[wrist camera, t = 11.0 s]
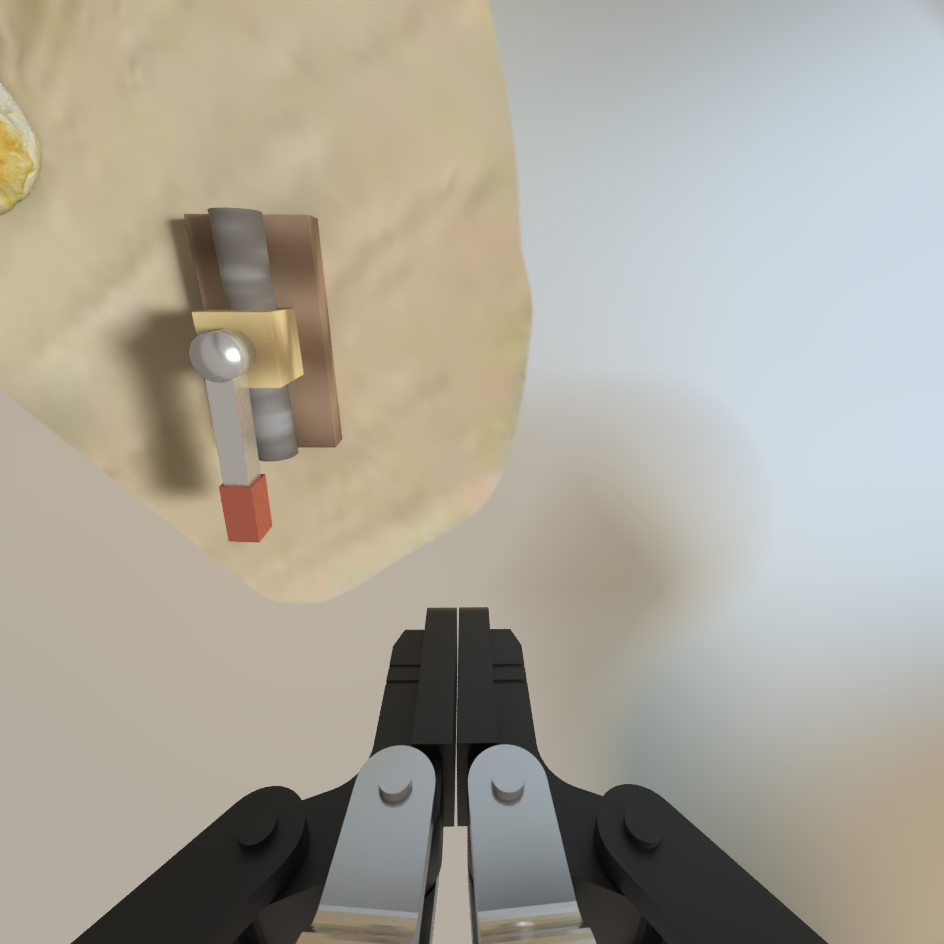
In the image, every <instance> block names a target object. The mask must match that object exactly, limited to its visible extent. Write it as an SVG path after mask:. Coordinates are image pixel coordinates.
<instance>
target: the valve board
mask: <svg viewBox="0 0 944 944" xmlns="http://www.w3.org/2000/svg"><path fill="white" fill-rule="evenodd" d="M208 213H209V214H184V217H185V222H186V227H187V232H188V236H189V241H190V246H191V251H192V255H193V260H194V265H195V270H196V274H197V279H198V284H199V289H200V293H201V298H202V303H203V308H204V311H196V312H192V316H193V321H194V326H195V330H196V335H197V336H198V335H200V334H203V333H207V332H212V331H217V330H222V329H234V330H237V331H240V332H242V333H243V334H245V335H246V336H247V337H248V338H249V339H250V341H251V342H252V344H253V345H254V348H255V351H256V363H255V365H254V367H253V368H252V370H251V371H250V372H248V373H247V379H248V386H249V394H250V401H251V408H252V415H253V422H254V429H255V436H256V444H257V451H258V458H259V460H260V461H280V460H285V459H288V458H291V457H293V456H295V455H297V454H298V447H336V446H337V445H338V444H339V442H340V441H341V440H342V435H341V426H340V417H339V408H338V399H337V390H336V381H335V372H334V363H333V354H332V345H331V336H330V328H329V319H328V310H327V301H326V292H325V283H324V274H323V265H322V256H321V247H320V238H319V229H318V220H317V218H314V217H312V216H309V215H262V212H260V211H256V210H250V209H241V208H210V209H208Z"/></svg>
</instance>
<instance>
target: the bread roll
mask: <svg viewBox="0 0 944 944" xmlns="http://www.w3.org/2000/svg"><path fill="white" fill-rule="evenodd" d="M40 170H41V152H40V148H39V143H38V139H37V136H36V134H35V132H34V131H33V129H32V127H31V126H30V124H29V123H28V121H27V119H26V118H25V116H24V114H23V112H22V110H21V108H20V107H19V105H18V104H17V103H16V102H15V100H14V99H13V98H12V96H11V95H10V94H9V93H8V92H7V90H6V89H5V88H4V86H3V85H2V84H1V83H0V214H2V213H4V212H8V211H9V210H11V209H13V208H14V207H15V205H16V204H17V202H18V201H20V200H21V199H23V198H25V197H26V196H27V195H28V194H30V193H31V191H32V190H33V188H34V187H35V184H36V182H37V180H38V178H39V175H40Z"/></svg>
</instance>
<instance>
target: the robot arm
mask: <svg viewBox="0 0 944 944" xmlns="http://www.w3.org/2000/svg"><path fill="white" fill-rule="evenodd" d="M457 699H458V700H457ZM457 703H458V704H457ZM456 708H457V709H456ZM456 710H457V711H456ZM456 712H457V813H458V814H457V816H458V826H468V890H469V905H470V920H471V935H472V944H828V943H827V942H826V941H825V940H823V939H822V938H821V937H820V936H819V935H818V934H817V933H816V932H814V931H813V930H812V929H811V928H810V927H809V926H808V925H806V924H805V923H804V922H803V921H802V920H801V919H800V918H798V917H797V916H796V915H795V914H794V913H793V912H792V911H790V910H789V909H788V908H787V907H786V906H785V905H784V904H783V903H781V902H780V901H779V900H778V899H777V898H776V897H775V896H774V895H772V894H771V893H770V892H769V891H768V890H767V889H766V888H765V887H763V886H762V885H761V884H760V883H759V882H758V881H757V880H755V879H754V878H753V877H752V876H751V875H750V874H749V873H748V872H746V871H745V870H744V869H743V868H742V867H741V866H740V865H738V864H737V863H736V862H735V861H734V860H733V859H731V857H729V856H728V855H727V854H726V853H724V851H722V850H721V849H720V848H719V847H718V846H717V845H716V844H715V843H714V842H712V841H711V840H710V839H709V838H708V837H707V836H705V835H704V834H703V833H702V832H701V831H700V830H699V829H698V828H696V827H695V826H694V825H693V824H692V823H691V822H690V821H689V820H687V819H686V818H685V817H684V816H683V815H682V814H680V813H679V812H678V811H677V810H676V809H675V808H674V807H672V805H670V804H669V803H668V802H667V801H666V800H665V799H663V798H662V797H661V796H660V795H658V794H657V793H655V792H653V791H652V790H649V789H647V788H645V787H641V786H638V785H632V784H624V785H619V786H615V787H614V788H612V789H610V790H609V791H608V792H606V793H605V794H604V796H600V795H597V794H595V793H592V792H588V791H586V790H583V789H580V788H577V787H574V786H572V785H569V784H567V783H565V782H564V781H562V780H561V779H559V778H558V777H557V776H555V775H554V774H553V773H552V772H551V771H550V770H549V769H548V767H547V766H546V765H545V763H544V762H543V760H542V758H541V757H540V754H539V752H538V749H537V744H536V738H535V732H534V725H533V718H532V712H531V706H530V699H529V692H528V686H527V682H526V673H525V668H524V660H523V653H522V647H521V644H520V643H519V641H518V640H517V638H516V637H515V636H514V634H513V633H512V631H511V630H510V629H490V624H489V610H488V608H487V607H485V608H484V607H482V608H481V607H479V608H478V607H477V608H475V607H473V608H470V607H469V608H459V648H458V698H457V608H427V614H426V623H425V630H405V631H404V632H403V634H402V635H401V636H400V638H399V639H398V640H397V642H396V643H395V645H394V646H393V650H392V656H391V660H390V668H389V671H388V676H387V684H386V686H385V691H384V696H383V701H382V706H381V711H380V716H379V721H378V726H377V731H376V736H375V741H374V746H373V750H372V753H371V755H370V757H369V759H368V761H367V762H366V763H365V764H364V765H363V767H362V768H361V770H360V772H359V773H358V774H357V775H356V776H355V777H353V778H352V779H351V780H350V781H348V782H347V783H345V784H343V785H342V786H340V787H338V788H335V789H333V790H331V791H328V792H325V793H322V794H319V795H316V796H313V797H310V798H308V799H305V800H301V799H300V797H299V796H298V795H297V794H296V793H295V792H294V791H293V790H291V789H289V788H285V787H282V786H271V787H265V788H262V789H259V790H256V791H254V792H252V793H250V794H248V795H247V796H245V797H243V798H242V799H241V800H239V801H238V802H237V803H235V804H234V805H233V806H232V807H231V808H230V809H229V810H227V811H226V812H225V813H224V814H223V815H221V816H220V817H219V818H218V819H217V820H215V822H213V823H212V824H211V825H210V826H208V827H207V828H206V829H205V830H204V831H203V832H201V833H200V834H199V835H198V836H197V837H195V838H194V839H193V840H192V841H191V842H190V843H188V844H187V845H186V846H185V847H184V848H183V849H181V850H180V851H179V852H178V853H177V854H176V855H174V856H173V857H172V858H171V859H170V860H168V861H167V862H166V863H165V864H164V865H163V866H161V867H160V868H159V869H158V870H157V871H156V872H155V873H153V874H152V875H151V876H150V877H148V878H147V879H146V880H145V881H144V882H143V883H141V884H140V885H139V886H138V887H137V888H136V889H134V890H133V891H132V892H131V893H130V894H129V895H127V896H126V897H125V898H124V899H123V900H122V901H120V902H119V903H118V904H117V905H116V906H115V907H113V908H112V909H111V910H110V911H109V912H107V913H106V914H105V915H104V916H103V917H101V918H100V919H99V920H98V921H97V922H96V923H95V924H93V925H92V926H91V927H90V928H89V929H87V930H86V931H85V932H84V933H83V934H82V935H80V936H79V937H78V938H77V939H76V940H74V941H73V942H72V943H71V944H432V938H433V930H434V920H435V911H436V901H437V892H438V883H439V872H440V868H441V862H442V846H443V827H445V826H448V827H449V826H454V809H455V760H456V759H455V758H456Z"/></svg>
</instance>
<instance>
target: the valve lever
mask: <svg viewBox="0 0 944 944" xmlns="http://www.w3.org/2000/svg"><path fill="white" fill-rule="evenodd" d="M189 357H190V361H191V364H192V366H193V367H194V369H195V370H196V371H197V373H198V374H199V375H201V376H202V377H203V378H205V382H206V388H207V393H208V399H209V405H210V410H211V416H212V422H213V428H214V433H215V439H216V445H217V450H218V456H219V462H220V467H221V473H222V479H223V484H222V485H220V486H219V490H220V495H221V501H222V506H223V512H224V517H225V523H226V529H227V534H228V540H229V541H234V542H260V541H261V540H262V538H263V537H264V536H265V535H266V533H267V532H268V531H269V529H270V528H271V527H272V521H271V514H270V506H269V499H268V492H267V484H266V477H265V474H261V472H260V465H259V458H258V451H257V444H256V436H255V429H254V422H253V415H252V408H251V401H250V394H249V386H248V379H247V373H248V372H250V371H251V370H252V368H253V367H254V365H255V363H256V351H255V348H254V345H253V344H252V342H251V341H250V339H249V338H248V337H247V336H246V335H245V334H243V333H242V332H240V331H237V330H234V329H222V330H217V331H212V332H207V333H203V334H200V335H198V336H197V337H195V338H194V339H193V341H192V342H191V344H190V348H189Z"/></svg>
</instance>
